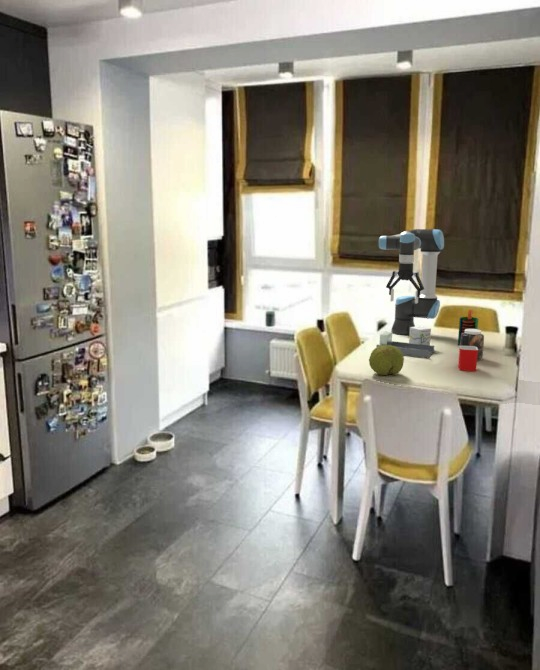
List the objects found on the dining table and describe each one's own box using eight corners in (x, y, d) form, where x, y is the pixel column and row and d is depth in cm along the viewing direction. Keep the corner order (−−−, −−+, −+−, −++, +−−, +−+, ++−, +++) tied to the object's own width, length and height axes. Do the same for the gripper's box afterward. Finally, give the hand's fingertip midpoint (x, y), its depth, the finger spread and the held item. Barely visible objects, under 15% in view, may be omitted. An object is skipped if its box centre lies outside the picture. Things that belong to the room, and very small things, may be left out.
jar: (455, 358, 301) (457, 330, 298) (464, 354, 310) (466, 327, 306) (477, 362, 293) (479, 333, 290) (486, 358, 302) (488, 330, 299)
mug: (477, 371, 276) (478, 350, 274) (459, 370, 278) (460, 349, 275) (473, 365, 288) (475, 344, 285) (456, 364, 289) (457, 343, 287)
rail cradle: (384, 346, 327) (385, 330, 325) (433, 352, 314) (434, 335, 312) (376, 351, 315) (376, 335, 313) (427, 357, 302) (428, 340, 300)
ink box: (418, 350, 319) (419, 329, 316) (408, 347, 326) (409, 326, 324) (430, 348, 323) (431, 328, 320) (419, 345, 330) (421, 325, 328)
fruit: (389, 381, 261) (374, 351, 261) (372, 384, 274) (358, 355, 274) (414, 365, 267) (400, 336, 267) (397, 369, 280) (383, 341, 280)
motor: (457, 345, 329) (459, 311, 325) (458, 342, 338) (460, 308, 333) (476, 347, 326) (478, 312, 322) (476, 344, 334) (479, 310, 330)
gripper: (381, 262, 310) (379, 301, 314) (427, 264, 297) (425, 304, 302) (385, 261, 316) (384, 299, 321) (431, 263, 304) (429, 303, 308)
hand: (404, 302), depth 311 cm, fingers open, 13 cm apart
